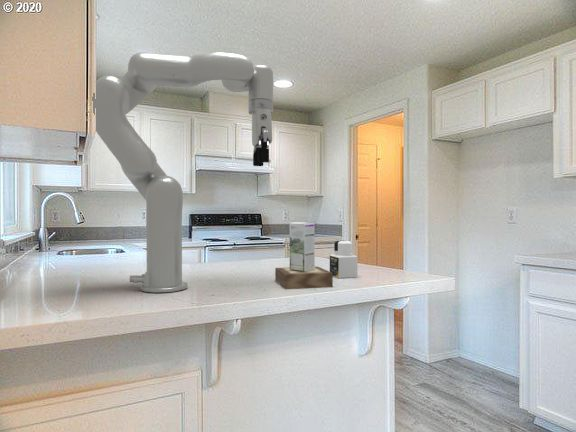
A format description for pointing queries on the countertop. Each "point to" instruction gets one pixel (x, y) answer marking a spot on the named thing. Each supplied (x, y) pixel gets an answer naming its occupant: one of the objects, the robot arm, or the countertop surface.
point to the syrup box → (302, 246)
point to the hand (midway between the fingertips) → (260, 164)
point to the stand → (303, 278)
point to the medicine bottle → (343, 260)
